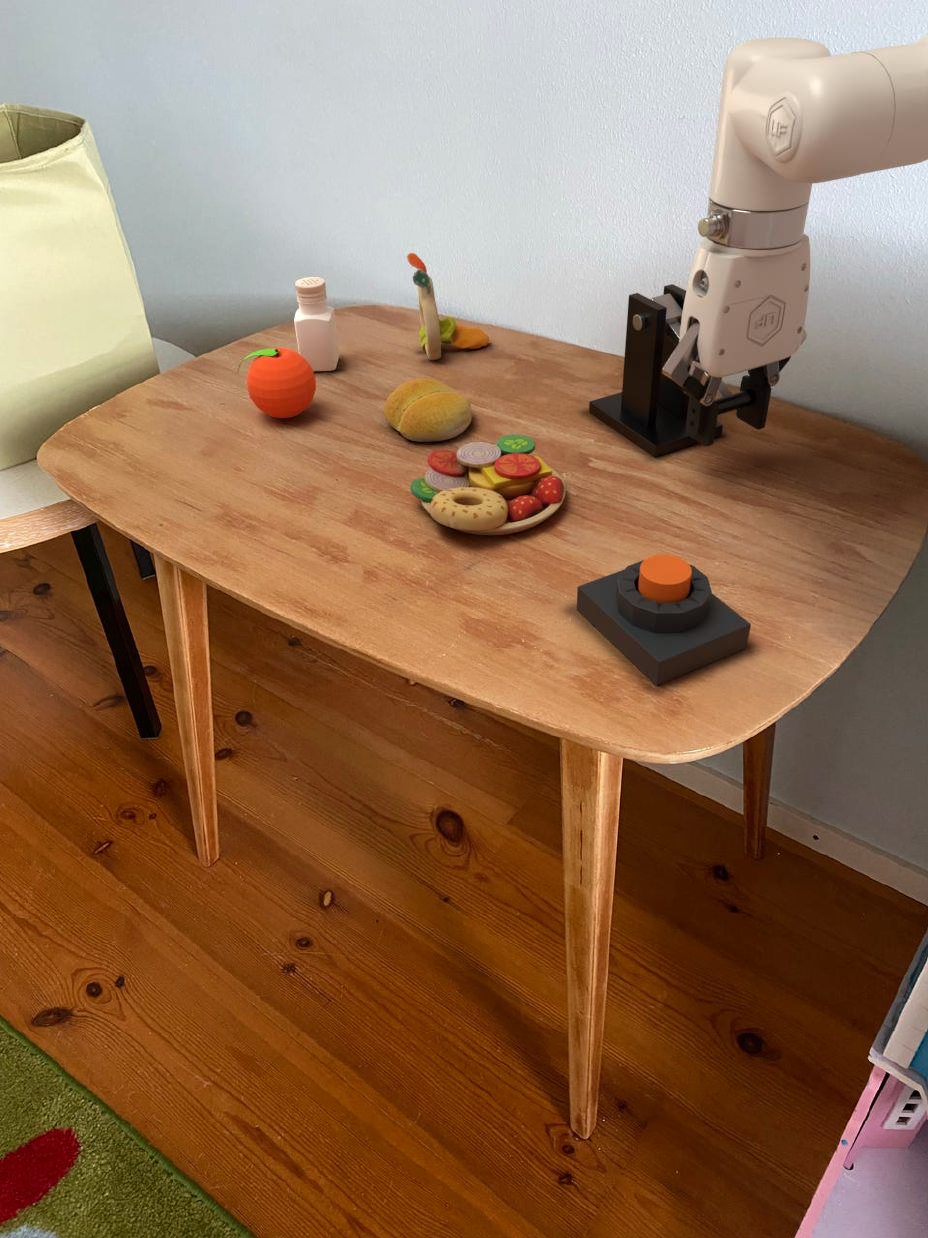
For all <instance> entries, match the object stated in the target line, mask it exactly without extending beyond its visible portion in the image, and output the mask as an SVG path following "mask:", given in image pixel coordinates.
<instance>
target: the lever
mask: <svg viewBox="0 0 928 1238" xmlns="http://www.w3.org/2000/svg"><path fill="white" fill-rule="evenodd" d="M650 299H651V300H653V301H655V302H656V303H658V304H660V305H662V306H664V307H666V308H667V312H666V322H665V333H664V336H669V338H670V339H671V340H672V342H673V343H674V344H675V346H676V347H677V346H678V344H679V336H680V327H681V319H682V312H683V310H682V309H681V308H680V306H679V305H678V304H677V302H676V301H675V300H674V298H673V297H672V296H671V294H670V293H669V294H665V295H663V294H661V295H657V296H654V297H651V298H650ZM692 362H693V361H691V363H690V364H689V365H690V366H691V365H692ZM708 375H709V374H707V373H705V372H704V374H703V377H702V379H701V383H702V384H703V385H705V382H706V380H707V377H708ZM755 401H756V395H755V392H754V391H753V390H752V389H746V390H743V391H740V390H739V391H737V392H734V393H732V391H731V390H730V389H729V387H728V386H727V385H726V383H725V382H724V381H723V379H722V380H721V383H720V386H719V388H718V391H717V394H716V397H715V399H714V402H715V403H717V404H718V406H719V410H718V416H721V415H724V414H727V413H730V412H734V411H737V409H740V408H743V407H747V406H750V405H753V404H754V403H755Z"/></svg>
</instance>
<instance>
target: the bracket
mask: <svg viewBox="0 0 928 1238" xmlns="http://www.w3.org/2000/svg"><path fill="white" fill-rule="evenodd" d="M686 291H687V289H684V288H682V287H680V286H677V285H676V284H673V283H671V284H667V285H664V286H663V294H662V295H665V294H669V293H670V294H671V296H672V297H673V298H674V300H675V301H676V302H677V304H678V305H679V306H680V308H681V309H682V310H683V306H684V301H685V295H686ZM627 301H628V302H627V317H626V318H627V319H626V328H625V329H626V331H625V344H624V358H623V373H622V388H621V392H620V391H619V392H617V393H613V394H611V395H606V396H603V397H600V398H597V399H593V400H589V404H588V405H589V406H588V413H590V414H591V415H593V416H594V417H596V418H597V419H598V420H600V421H601V422H602V423H604V424H606V425H607V426H608V427H610V428H611V429H613V430H614V431H616V432H617V433H619V434H620V435H621V436H623V437H625V438H626V439H627V440H629V441H630V442H632V443H633V444H635V445H636V446H638V447H639V448H640V449H642V450H643V451H645V452H646V453H647V454H649V455H651V456H652V457H653V458H658V457H660V456H664V455H667V454H670V453H672V452H675V451H679V450H682V449H685V448H688V447H691V446H694V445H697V444H700V443H699V442H698V441H696V440H695V439H693V438H692V437H690V436H689V435H687V433H686V422H687V413H688V405H689V396H688V395H686V394H685V393H684V392H683V390H682V389H681V388H680V387H679V386H678V385H677V384H676V383H675V382H673V381H672V380H670V379H669V378H668V377H666V376H665V375H663V373H662V369H663V367H664V365H665V364H666V362H667V361H668V359H669V358H670V356H671V355H672V353H673V352H674V350H675V349H676V346H675V344H674V343H673V342H672V340H671V339H670V338H669V336H664V333H665V322H666V312H667V308H666V307H664V306H662V305H660V304H658V303H656V302H655V301H653V300H651V298H648V297H647V296H645V295H643V294H641V293H639V292H636V293H631V294H628V300H627ZM690 368H691V366H690V365H689V366H688V373H689V371H690ZM723 427H724V424H722V423H721V422H719V421H717V425H716V432H715V439H716V438H719V437H721V436H722V435H723Z"/></svg>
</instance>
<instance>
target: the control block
mask: <svg viewBox="0 0 928 1238" xmlns="http://www.w3.org/2000/svg"><path fill="white" fill-rule="evenodd" d="M644 560H645V559H642V560H639V561H637V562H634V563H632V564H629V565H627V566H626V567H625V568H624V569H622V570H619V571H616V572H614V573H611V574H608V575H604V576H603V577H599V578H597V579H595V580H591V581H589V582H586V583H583V584H581V585H578V586H577V591H576V592H577V593H576V610H577V611H578V613H580V614H581V615H582V616H583V617H584V618H585V619H586V620H587V621H588V622H589V623H590V624H591V625H592V626H593V627H594V628H596V630H597V631H599V632H600V633H601V635H602V636H604V637H605V638H606V639H607V640H608V641H609V642H610V643H611V644H612V645H613V646H614V647H615V648H616V649H617V650H619V652H621V653H622V654H623V656H625V657H626V658H627V659H628V660H629V661H630V662H631V663H632V664H633V665H634V666H635V667H636V668H637V669H638V670H639V671H640V672H641V673H642V674H644V676H646V677H647V678H648V679H649V680H650V681H651V682H652V683H653V684H654V685H655V686H660V685H662V684H665V683H667V682H669V681H671V680H674V679H676V678H678V677H681V676H684V675H686V674H688V673H691V672H693V671H695V670H697V669H700V668H703V667H704V666H707V665H709V664H711V663H714V662H716V661H718V660H721V659H723V658H726V657H728V656H730V655H732V654H735V653H738V652H740V651H742V650H745V649H747V647H748V643H749V637H750V633H751V632H750V631H751V628H752V627H751V626H752V624H751V623H750V622H749V621H747V619H745V618H744V617H743V616H742V615H740V614H739V613H738V612H736V611H735V610H734V609H733V608H732V607H730V606H729V605H728V604H726V602H724V601H723V600H721V599H720V598H719V597H718V596H717V595H715V593H713V592H712V588H711V584H710V580H709V577H708V576H707V575H706V574H705V573H703V572H702V571H700V570H699V569H698V568H697V567H696V566H694V565H692V564H689V563H688V564H689V565H690V567H691V569H692V575H691V582H690V590H689V594H688V596H687V597H686V598H685V599H684V600H682V601H679V602H677V603H659V602H656V601H653V600H649V599H646V598H645V597H643V596H642V595H641V593H640V592H639V589H638V584H639V573H640V566H641V564H642V562H643V561H644Z"/></svg>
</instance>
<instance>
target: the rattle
mask: <svg viewBox="0 0 928 1238" xmlns="http://www.w3.org/2000/svg"><path fill="white" fill-rule="evenodd" d="M406 259H407V262H408V264H409V265H410V266H412V267H413V268H415V269H416V271H414V273H413V275H412V281H413V284H414V285H415V286H417V290H418V291H417V292H418V311H419V320H420V328H421V329H420V330H419V333H418V334H419V338H420V345H421V349H422V351H424V352H426V355H427V358H428V360H430V361H437V360H440V359H441V357H442V345H443V346H451V347H456V348H458V349H459V350H465V349H469V350H475V349H480V348H482V347H486V346H488V343H489V342H490V337H489V335H488V334H487V333H485V332H484V330H482V329H480V328H478V327H477V326H476V327H475V326H472V327H469V326H468V327H467V326H465V325H461V324H457V322H456V320H455V318H454V317H453V316H448V317H446V318H444V319H440V318H439V313H438V307H437V302H436V297H435V289H434V284H433V283H434V282H433V279H432V278H431V277H430V276H429V275H428V271H427V270H428V269H427V266H426V264H425V263H424V261H423V260H422V259H421V258H420V257H419V256H418V255H417V254H416V253H414V252H410V253H408V254H407V255H406Z"/></svg>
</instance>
